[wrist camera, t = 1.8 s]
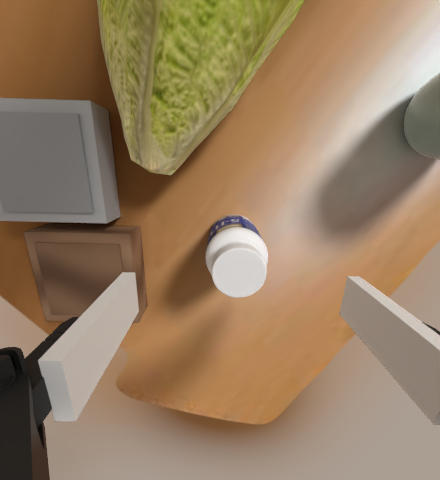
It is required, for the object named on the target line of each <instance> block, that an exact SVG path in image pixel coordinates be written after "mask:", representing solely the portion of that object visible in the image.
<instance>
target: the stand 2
mask: <svg viewBox="0 0 440 480" xmlns="http://www.w3.org/2000/svg"><path fill="white" fill-rule="evenodd" d="M23 234H24V238H25V241H26V245H27V249H28V253H29V257H30V261H31V265H32V269H33V272H34V276H35V280H36V284H37V288H38V292H39V296H40V299H41V303H42V307H43V311H44V315H45V319H46V321H67V320H68V319H70V318H72V317H80V316H81V315H82V314H83V313H84V312H85V311H86V310H87V309H88V308H89V307H90V306H91V305H92V304H93V303H94V302H95V301H96V299H97V298H98V297H99V296H100V295H101V294H102V293H103V292H104V291H105V290H106V289H107V288H108V287H109V286H110V285H111V284H112V283H113V282H114V281H115V280H116V279H117V278H118V277H119V275H120V274H121V273H122V272H135V276H136V286H137V296H138V307H139V312H138V314H137V316H136V317H135V319H134V321H133V323H139V321H140V320H141V318H142V316H143V314H144V312H145V310H146V308H147V295H146V284H145V273H144V262H143V251H142V239H141V228H140V226H103V225H58V224H46V225H43V226H40V227H37V228H33V229H30V230H27V231H24V232H23Z"/></svg>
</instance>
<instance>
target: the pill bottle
mask: <svg viewBox="0 0 440 480" xmlns="http://www.w3.org/2000/svg"><path fill="white" fill-rule="evenodd" d="M267 263H268V251H267V248H266V245H265V243H264V241H263V239H262V238H261V236H260V234H259V233H258V231H257V229H256V227H255V226H254V224H253V223H252V222H251V221H250V220H249V219H248V218H246V217H244V216H242V215H238V214H229V215H226V216H223V217H221V218H220V219H218V220H217V221H216V222H215V223H214V224H213V226H212V228H211V230H210V233H209V238H208V244H207V249H206V265H207V268H208V270H209V272H210V274H211V275H212V279H213V282H214V284H215V286H216V287H217V288H218V289H219V290H220V291H221V292H222V293H224V294H225V295H228V296H230V297H236V298H240V297H246V296H250V295H252V294H254V293H255V292H257V291H258V290H259V289H260V288H261V287H262V285H263V284H264V282H265V279H266V274H267V270H266V266H267Z"/></svg>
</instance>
